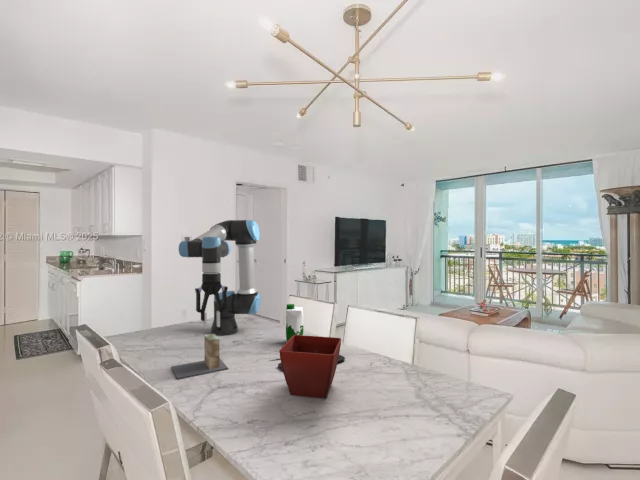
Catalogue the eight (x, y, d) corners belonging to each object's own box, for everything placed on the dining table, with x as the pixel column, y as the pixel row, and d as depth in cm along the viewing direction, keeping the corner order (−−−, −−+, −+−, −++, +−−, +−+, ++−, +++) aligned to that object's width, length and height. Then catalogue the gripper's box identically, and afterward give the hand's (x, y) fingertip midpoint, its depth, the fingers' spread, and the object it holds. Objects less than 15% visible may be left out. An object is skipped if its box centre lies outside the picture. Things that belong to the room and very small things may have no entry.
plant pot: (333, 405, 114) (333, 354, 114) (278, 399, 118) (278, 350, 118) (341, 381, 133) (341, 337, 133) (293, 377, 137) (293, 334, 137)
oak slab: (213, 360, 153) (213, 333, 153) (219, 367, 146) (219, 338, 145) (204, 362, 151) (204, 334, 151) (209, 369, 143) (209, 340, 143)
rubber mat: (219, 359, 157) (219, 357, 157) (228, 369, 145) (228, 367, 145) (171, 367, 146) (171, 366, 146) (177, 379, 134) (177, 378, 134)
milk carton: (286, 340, 185) (286, 303, 185) (303, 340, 185) (303, 303, 184) (284, 345, 176) (284, 306, 176) (302, 345, 176) (302, 306, 176)
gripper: (229, 270, 156) (229, 322, 156) (187, 273, 146) (187, 328, 147) (234, 272, 149) (235, 326, 150) (191, 274, 140) (191, 332, 140)
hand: (211, 327), depth 148 cm, fingers open, 5 cm apart
